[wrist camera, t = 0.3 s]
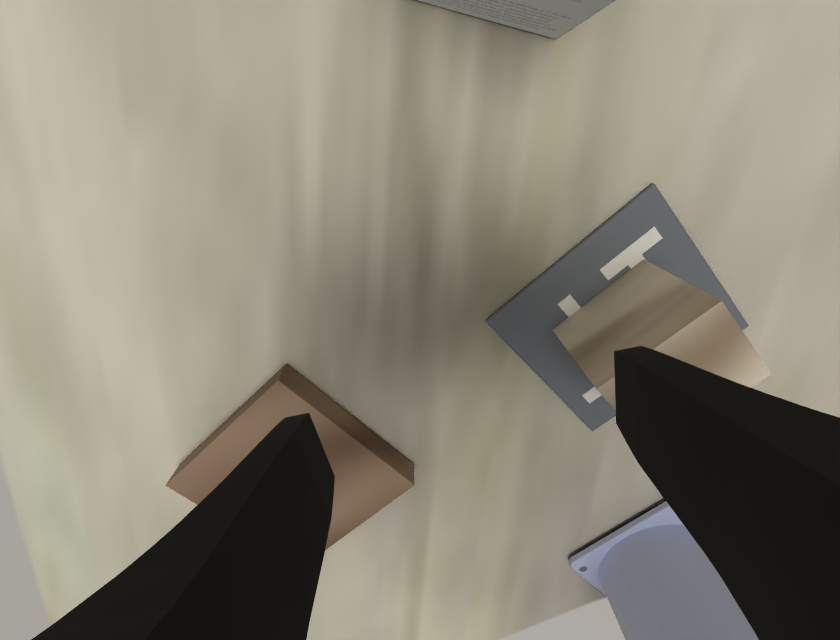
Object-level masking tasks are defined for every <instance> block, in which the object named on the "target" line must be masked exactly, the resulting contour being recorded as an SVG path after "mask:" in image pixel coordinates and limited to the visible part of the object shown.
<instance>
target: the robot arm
mask: <svg viewBox="0 0 840 640" xmlns="http://www.w3.org/2000/svg"><path fill="white" fill-rule="evenodd" d="M614 369H615V401H616V423H617V425H618V427H619V429H620V431H621V433H622V435H623V437H624V438H625V440H626V442H627V444H628V446H629V448H630V449H631V451H632V453H633V455H634V456H635V458H636V460H637V461H638V463H639V464H640V466H641V467H642V469H643V470H644V471H645V473H646V474H647V476H648V477H649V478H650V480H651V481H652V482H653V484H654V485H655V487H656V488H657V489H658V491H659V492H660V493H661V495H662V496H663V498H664V499H665V500H666V501H665V502H664V503H662V504H660V505H658V506H657V507H655V508H653V509H652V510H650V511H648V512H647V513H645V514H643V515H642V516H640V517H638V518H636V519H635V520H633V521H631V522H630V523H628V524H626V525H625V526H623V527H621V528H620V529H618V530H616V531H614V532H613V533H611V534H609V535H608V536H606V537H604V538H603V539H601V540H599V541H597V542H596V543H594V544H592V545H591V546H589V547H587V548H586V549H584V550H582V551H581V552H579V553H577V554H575V555H574V556H572V557H571V558H570V560H569V563H570V566H571V568H572V569H573V570H574V571H576V572H577V573H578V574H579V575H581V576H582V577H583V578H584V579H585V580H587V581H588V582H589V583H590V584H592V585H593V586H594V587H595V588H597V589H598V590H599V591H600V592H601V593H603V594H604V595H605V596H606V597H607V598H608V600H609V602H610V605H611V607H612V609H613V611H614V614H615V616H616V618H617V620H618V622H619V625H620V628H621V630H622V632H623V634H624V637H625V639H626V640H840V418H839V417H835V416H832V415H829V414H826V413H822V412H819V411H816V410H813V409H810V408H807V407H804V406H801V405H798V404H795V403H792V402H789V401H786V400H783V399H781V398H778V397H775V396H772V395H769V394H766V393H763V392H761V391H758V390H755V389H753V388H750V387H747V386H744V385H742V384H739V383H737V382H734V381H731V380H729V379H726V378H724V377H721V376H719V375H716V374H713V373H711V372H708V371H706V370H703V369H701V368H698V367H696V366H694V365H691V364H689V363H686V362H684V361H681V360H679V359H676V358H674V357H671V356H669V355H666V354H664V353H661V352H658V351H656V350H653V349H650V348H647V347H644V346H637V347H632V348H627V349H622V350H617V351H614ZM334 483H335V476H334V473H333V471H332V468H331V466H330V463H329V461H328V458H327V456H326V453H325V451H324V448H323V446H322V443H321V441H320V438H319V436H318V433H317V431H316V428H315V426H314V423H313V421H312V419H311V416H310V414H309V413H305V414H300V415H295V416H290V417H285V418H284V419H283V420H282V421H280V422H279V423H278V424H277V425H276V426H275V427H274V428H273V429H272V430H271V431H270V432H269V433H268V434H267V435H266V436H265V437H264V438H263V439H262V440H261V441H260V442H259V443H258V445H257V446H256V447H255V448H254V449H253V450H252V451H251V452H250V453H249V454H248V455H247V456H246V457H245V458H244V459H243V460H242V461H241V462H240V463H239V464H238V465H237V466H236V467H235V468H234V469H233V470H232V472H231V473H230V474H229V475H228V476H227V477H226V478H225V479H224V480H223V481H222V482H221V483H220V484H219V485H218V486H217V487H216V488H215V489H214V490H213V491H212V492H211V493H209V494H208V495H207V496H206V497H205V498H204V499H203V500H202V501H201V502H200V503H199V504H198V505H197V506H196V507H195V508H194V509H193V510H192V511H191V512H190V513H189V514H188V515H187V516H186V517H185V518H184V519H183V520H182V521H180V522H179V523H178V524H177V525H176V526H175V527H174V528H173V529H172V530H171V531H169V532H168V533H167V534H166V535H165V536H164V537H163V538H161V539H160V540H159V541H158V542H157V543H156V544H155V545H153V546H152V547H151V548H150V549H149V550H148V551H146V552H145V553H144V554H143V555H142V556H140V557H139V558H138V559H137V560H136V561H134V562H133V563H132V564H131V565H130V566H128V567H127V568H126V569H125V570H124V571H122V572H121V573H120V574H119V575H117V576H116V577H115V578H113V579H112V580H111V581H110V582H108V583H107V584H106V585H104V586H103V587H102V588H100V589H99V590H98V591H96V592H95V593H94V594H92V595H91V596H90V597H89V598H87V599H86V600H85V601H83V602H82V603H81V604H79V605H78V606H77V607H75V608H74V609H73V610H71V611H70V612H69V613H67V614H66V615H65V616H64V617H62V618H61V619H60V620H58V621H57V622H56V623H54V624H53V625H51V626H50V627H49V628H47V629H46V630H45V631H43V632H42V633H40V634H39V635H37V636H36V637H35V638H33V639H32V640H306V638H307V632H308V627H309V621H310V617H311V612H312V607H313V603H314V598H315V594H316V589H317V584H318V580H319V575H320V571H321V566H322V561H323V557H324V552H325V547H326V543H327V538H328V533H329V528H330V523H331V518H332V508H333V497H334Z"/></svg>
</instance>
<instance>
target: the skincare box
mask: <svg viewBox="0 0 840 640" xmlns="http://www.w3.org/2000/svg"><path fill="white" fill-rule="evenodd" d="M418 1H422V2H425V3H429V4H432V5H436V6H439V7H443V8H446V9H450V10H453V11H457V12H461V13H464V14H468V15H471V16H474V17H478V18H482V19H486V20H490V21H493V22H496V23H500V24H503V25H507V26H511V27H515V28H518V29H522V30H525V31H529V32H533V33H536V34H540V35H543V36H547V37H550V38H554V39H557V38H559V37H561V36H562V35H564V34H565V33H567V32H568V31H570V30H572V29H573V28H574V27H576V26H578V25H579V24H581V23H582V22H583V21H585V20H587V19H588V18H590V17H591V16H593V15H594V14H596V13H597V12H599V11H600V10H602V9H603V8H605V7H606V6H608V5H609V4H611V3H612V2H614V1H615V0H418Z"/></svg>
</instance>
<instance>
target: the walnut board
mask: <svg viewBox="0 0 840 640" xmlns="http://www.w3.org/2000/svg"><path fill="white" fill-rule="evenodd" d="M305 413H309V414H310V416H311V419H312V421H313V423H314V426H315V428H316V431H317V433H318V436H319V438H320V441H321V443H322V446H323V448H324V451H325V453H326V456H327V458H328V461H329V463H330V466H331V468H332V471H333V473H334V476H335V483H334V497H333V508H332V518H331V523H330V528H329V533H328V538H327V543H326V547H325V550H326V549H327V548H329V547H330V546H332V545H333V544H334V543H336V542H337V541H338V540H340V539H341V538H342V537H344V536H345V535H347V534H348V533H349V532H351V531H352V530H353V529H355V528H356V527H357V526H359V525H360V524H362V523H363V522H364V521H366V520H367V519H368V518H370V517H371V516H372V515H374V514H375V513H377V512H378V511H379V510H381V509H382V508H383V507H385V506H386V505H387V504H389V503H390V502H392V501H393V500H394V499H396V498H397V497H398V496H400V495H401V494H402V493H404V492H405V491H407V490H408V489H409V488H411V487H412V486H413V485H414V464H413V463H412V462H411V461H409V460H408V459H407V458H406V457H404V456H403V455H402V454H401V453H399V452H398V451H397V450H395V449H394V448H393V447H392V446H390V445H389V444H388V443H387V442H385V441H384V440H383V439H382V438H380V437H379V436H378V435H376V434H375V433H374V432H373V431H371V430H370V429H369V428H368V427H366V426H365V425H364V424H362V423H361V422H360V421H359V420H357V419H356V418H355V417H354V416H352V415H351V414H350V413H349V412H347V411H346V410H345V409H343V408H342V407H341V406H340V405H338V404H337V403H336V402H335V401H333V400H332V399H331V398H329V397H328V396H327V395H326V394H324V393H323V392H322V391H321V390H319V389H318V388H317V387H316V386H314V385H313V384H312V383H310V382H309V381H308V380H307V379H305V378H304V377H303V376H302V375H300V374H299V373H298V372H297V371H295V370H294V369H293V368H291V367H290V366H289V365H288V364H286V365H285V366H284V367H283V368H281V369H280V370H279V371H278V372H277V373H276V374H275V375H274V376H273V377H272V378H271V379H270V380H269V381H268V382H267V383H266V384H264V385H263V386H262V387H261V388H260V389H259V390H258V391H257V392H256V393H255V394H254V395H253V396H252V397H251V398H250V399H249V400H247V401H246V402H245V403H244V404H243V405H242V406H241V407H240V408H239V409H238V410H237V411H236V412H235V413H234V414H233V415H232V416H230V417H229V418H228V419H227V420H226V421H225V422H224V423H223V424H222V425H221V426H220V427H219V428H218V429H217V430H216V431H215V432H214V433H212V434H211V435H210V436H209V437H208V438H207V439H206V440H205V441H204V442H203V443H202V444H201V445H200V446H199V447H198V448H197V449H195V450H194V451H193V452H192V453H191V454H190V455H189V456H188V457H187V458H186V459H185V460H184V461H183V462H182V463H181V464H180V465H179V466H178V468H177V469H176V471H175V472H174V474H173V475H172V477H171V478H170V480H169V481H168V482H167V484H166V486H167V487H169V488H171V489H172V490H174V491H176V492H177V493H179V494H181V495H182V496H184V497H186V498H187V499H189V500H191V501H192V502H194V503H196V504H197V505H198V504H199V503H200V502H201V501H202V500H203V499H204V498H205V497H206V496H207V495H208V494H209V493H211V492H212V491H213V490H214V489H215V488H216V487H217V486H218V485H219V484H220V483H221V482H222V481H223V480H224V479H225V478H226V477H227V476H228V475H229V474H230V473H231V472H232V470H233V469H234V468H235V467H236V466H237V465H238V464H239V463H240V462H241V461H242V460H243V459H244V458H245V457H246V456H247V455H248V454H249V453H250V452H251V451H252V450H253V449H254V448H255V447H256V446H257V445H258V443H259V442H260V441H261V440H262V439H263V438H264V437H265V436H266V435H267V434H268V433H269V432H270V431H271V430H272V429H273V428H274V427H275V426H276V425H277V424H278V423H279V422H280V421H282V420H283V419H284V418H285V417H290V416H295V415H300V414H305Z"/></svg>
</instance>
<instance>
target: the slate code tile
mask: <svg viewBox="0 0 840 640" xmlns="http://www.w3.org/2000/svg"><path fill="white" fill-rule="evenodd" d="M643 259H644V260H646V261H648V262H650V263H652V264H654V265H656V266H657V267H659V268H661V269H663V270H665V271H667V272H669V273H671V274H672V275H674V276H676V277H678V278H680V279H682V280H684V281H686V282H688V283H689V284H691V285H693V286H695V287H697V288H699V289H701V290H703V291H704V292H706V293H708V294H710V295H712V296H714V297H716V298H718V299H719V300H721V301H722V302H723V303H724V305H725V306H726V308H727V309H728V311H729V312H730V314H731V315H732V316H733V318H734V319H735V321H736V322H737V324H738V325H739V327H740V328H741V330H743V329H745V328H746V327H748V324H747V323H746V321H745V320H744V318H743V317H742V315H741V314H740V312H739V310H738V309H737V307H736V306H735V304H734V303H733V301H732V300H731V298H730V297H729V295H728V294H727V292H726V291H725V289H724V288H723V286H722V285H721V283H720V282H719V280H718V279H717V277H716V276H715V274H714V273H713V271H712V270H711V268H710V267H709V265H708V264H707V262H706V261H705V259H704V258H703V256H702V255H701V253H700V252H699V250H698V249H697V247H696V246H695V244H694V243H693V241H692V240H691V238H690V237H689V235H688V234H687V232H686V231H685V229H684V228H683V226H682V225H681V223H680V222H679V220H678V219H677V217H676V216H675V214H674V213H673V211H672V210H671V208H670V206H669V205H668V203H667V202H666V200H665V199H664V197H663V196H662V194H661V193H660V191H659V190H658V188H657V187H656V185H655V184H653V183H652V184H650V185H649V186H648V187H647V188H646V189H644V190H643V191H642V192H641V193H639V194H638V195H637V196H636V197H635V198H633V199H632V200H631V201H630V202H629V203H627V204H626V205H625V206H624V207H623V208H621V209H620V210H619V211H618V212H616V213H615V214H614V215H613V216H612V217H610V218H609V219H608V220H607V221H606V222H604V223H603V224H602V225H601V226H599V227H598V228H597V229H596V230H595V231H593V232H592V233H591V234H590V235H589V236H587V237H586V238H585V239H584V240H582V241H581V242H580V243H579V244H578V245H576V246H575V247H574V248H573V249H572V250H570V251H569V252H568V253H567V254H565V255H564V256H563V257H562V258H561V259H559V260H558V261H557V262H556V263H555V264H553V265H552V266H551V267H550V268H548V269H547V270H546V271H545V272H544V273H542V274H541V275H540V276H539V277H538V278H536V279H535V280H534V281H533V282H532V283H530V284H529V285H528V286H527V287H525V288H524V289H523V290H522V291H521V292H519V293H518V294H517V295H516V296H515V297H513V298H512V299H511V300H510V301H508V302H507V303H506V304H505V305H504V306H502V307H501V308H500V309H499V310H498V311H496V312H495V313H494V314H493V315H491V316H490V317H489V318H488V319H487V320H486V322H487V323H488V324H489V325H490V326H491V327H492V328H493V329H494V330H495V331H496V332H497V333H498V334H499V336H500V337H501V338H502V339H503V340H504V341H505V342H506V343H507V344H508V345H509V346H510V347H511V348H512V349H513V350H514V351H515V352H516V353H517V354H518V355H519V356H520V357H521V358H522V359H523V360H524V361H525V362H526V363H527V364H528V365H529V366H530V367H531V368H532V370H533V371H534V372H535V373H536V374H537V375H538V376H539V377H540V378H541V379H542V380H543V381H544V382H545V383H546V384H547V385H548V386H549V387H550V388H551V389H552V390H553V391H554V392H555V393H556V394H557V395H558V396H559V397H560V398H561V399H562V400H563V401H564V402H565V404H566V405H567V406H568V407H569V408H570V409H571V410H572V411H573V412H574V413H575V414H576V415H577V416H578V417H579V418H580V419H581V420H582V421H583V422H584V423H585V424H586V425H587V426H588V427H589V428H590V429H591V430H592V431H594V430H595V429H596V428H598V427H599V426H601V425H602V424H604V423H605V422H607V421H608V420H610V419H611V418H613V417H614V416H616V410H615V409H614V408H613V407H612V406H611V405H610V404H609V403H608V401H607V400H606V399H605V398H604V397H603V396H602V395H601V394H600V393H599V392H598V390H597V389H596V388H595V387H594V385H593V384H592V383H591V381H590V380H589V379H588V377H587V376H586V375H585V373H584V372H583V371H582V369H581V368H580V367H579V365H578V364H577V363H576V361H575V360H574V358H573V357H572V356H571V354H570V353H569V352H568V350H567V349H566V348H565V346H564V345H563V344H562V342H561V341H560V340H559V338H558V337H557V336H556V334H555V333H554V332H553V329H554V328H555V327H557V326H558V325H559V324H561V323H562V322H563V321H564V320H566V319H567V318H568V317H570V316H571V315H572V314H573V313H575V312H576V311H577V310H579V309H580V308H581V307H583V306H584V305H585V304H586V303H588V302H589V301H590V300H592V299H593V298H594V297H595V296H597V295H598V294H599V293H601V292H602V291H603V290H604V289H606V288H607V287H608V286H610V285H611V284H612V283H614V282H615V281H616V280H617V279H619V278H620V277H621V276H623V275H624V274H625V273H626V272H628V271H629V270H630V269H632V268H633V267H634V266H635V265H637V264H638V263H639V262H641V261H642V260H643Z"/></svg>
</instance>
